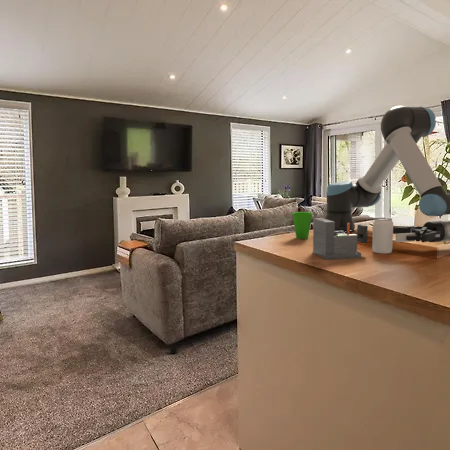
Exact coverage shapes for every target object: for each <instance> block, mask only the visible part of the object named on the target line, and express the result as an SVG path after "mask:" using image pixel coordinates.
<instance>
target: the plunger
mask: <svg viewBox="0 0 450 450" xmlns="http://www.w3.org/2000/svg"><path fill="white" fill-rule="evenodd" d="M368 226H369V225H366V224H362V223H360V224H359V223H358V224H357V229H356V232H357V233H356V234H357V243H360V244H368V228H369V227H368ZM350 233H351V232H350V223H347V232H344V233H341V234H336V235H346V234H350Z"/></svg>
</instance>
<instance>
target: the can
mask: <svg viewBox="0 0 450 450" xmlns="http://www.w3.org/2000/svg"><path fill="white" fill-rule="evenodd" d="M372 223H373V224H372V234H373V235H372V242H371V243H372V245H371V247H372V249H371V251H372V252H373V253H374V254H378V255H380V254H381V255H389V254H392V252H393V241H394V239H393V238H394V234H393V226H394V221H393V218H391V217H375V218H374V220H373V222H372Z"/></svg>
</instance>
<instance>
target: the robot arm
mask: <svg viewBox="0 0 450 450" xmlns="http://www.w3.org/2000/svg"><path fill="white" fill-rule="evenodd" d="M436 117H437V116H436V114H435V113H434V110H432V109H430V108H429V107H424V106H409V105H397V106H394V107H392V108H390V109H388V110H387V111H386V112H385V113H384V115H382V118H381V121H380V132H381V135H382V138H383V140H384V141H385V143H386V144H385V145H384V147H383V148H382V149H381V151H380V152H379V154H378V156H377V157H376V158H375V160H373V161H374V162H373V163H372V164H371V166H370V167H369V169H368V170H367V171H366V173H365V175H361V176H360V177H359V178H358V179H357V181H356V182H355V183H353V182H352V181H350V180H349V181H348V180H346V181H339V182H338V181H337V182H333V183H329V184H328V185H327V187H326V193H325V194H326V214H325V218H324V219H327V220H330V221H334V222H335V231H344V233H346V232H345V231H347V223H350V230H354V229H355V230H356V226H355V221H354V217H353V215H352V210H353V208H354V209H355V208H368V207H372V206H374V205H377V203H379V201H380V200H381V194H382V186H381V185H382V184H383V183H384V181H385V180H386V179H387V177H388V176H389V175H390V173H391V172H392V171H393V169H394V168H395V167H396V165H397V164H398V162H399V161H400V163H401V165H402V167H403V168H404V171H405V172H406V174H407V176H408V177H409V180H410V181H411V183H412V185H413V186H414V188H415V190H416V191H417V193H418V196H420V199H419V202H418V207H419V210H420V212H421V213H422V215H425V216H429V217H440V216H446V215H450V192H446V190H445V189H444V187H443V185H442V184H441V182H440V181H439V179H438V177H437V176H436V174H435V172H434V171H433V169H432V167H431V165H430V164H429V162H428V161H427V159H426V157H425V156H424V154H423V152H422V150H421V149H420V147H419V146H418V144H417V143H418V142H419V141H420V140H421V138H426V137H428V136H430V135H431V134H432V133H433V132H434V131H435V127H436V124H437V120H436ZM371 234H372V236H373V233H371ZM393 235H395V243H406V242H407V243H408V242H421V243H427V242H428V243H440V242H443V244H446V243H447V242H450V220H449V219H448V220H435V221H433V220H431V221H430V220H429V221H427V222H425V223H424V224H423V225H416V226H415V225H406V226H405V225H393Z"/></svg>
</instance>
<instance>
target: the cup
mask: <svg viewBox="0 0 450 450" xmlns="http://www.w3.org/2000/svg"><path fill="white" fill-rule="evenodd" d="M291 215H292V221H293V225H294V233H295V237H296V239H298V240H307V239H309V236H310V231H311V230H310V229H311V222H312V217H313V212H309V211H297V212H292V213H291Z"/></svg>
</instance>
